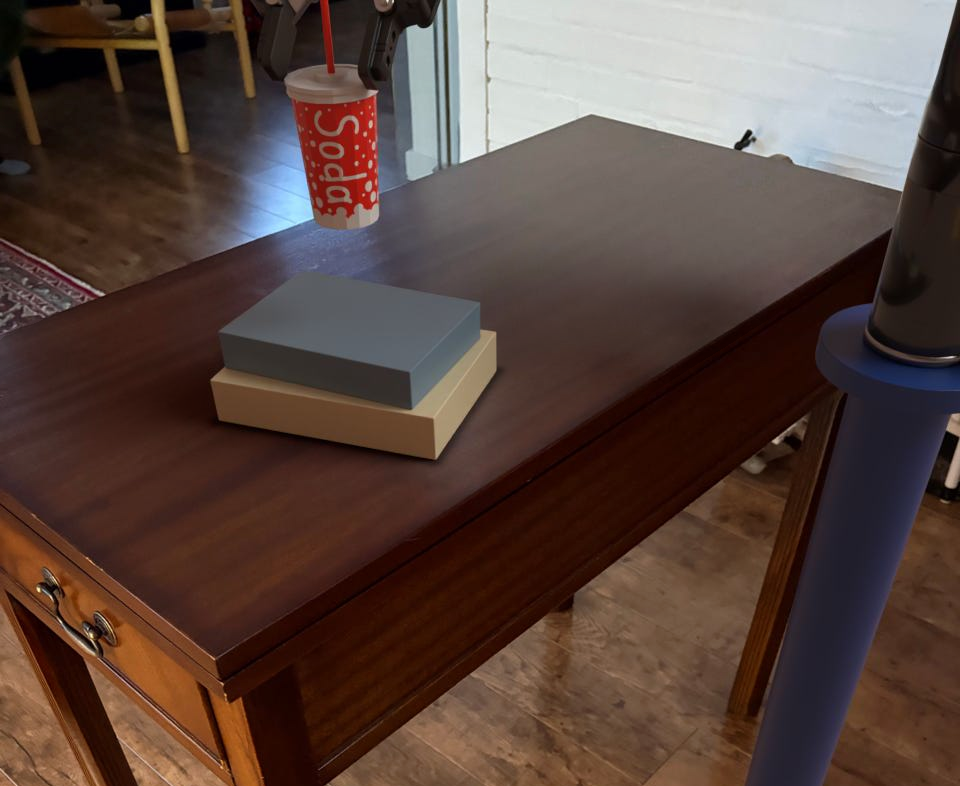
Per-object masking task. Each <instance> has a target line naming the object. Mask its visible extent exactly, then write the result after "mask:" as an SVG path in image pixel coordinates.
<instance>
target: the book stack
mask: <svg viewBox="0 0 960 786" xmlns="http://www.w3.org/2000/svg"><path fill="white" fill-rule="evenodd" d="M217 333H218V339H219V343H220V348H221V354H222V359H223V364H224V367H222V369H221V370H220V371H218V372H217V373H216V374H215V375H214V376H213V377H212V378H210V380H209V381H210V385H211V390H212V394H213V400H214V404H215V407H216V408H215V409H216V415H217V418H218V421H220V422H224V423H231V424H237V425H242V426H246V427H254V428H258V429H262V430H263V429H264V430H268V431H269V430H270V431H274V432H280V433H286V434H291V435H297V436H302V437H307V438H313V439H319V440H324V441H329V442H335V443H341V444H346V445H351V446H357V447H361V448H369V449H374V450H377V451H378V450H379V451H385V452H389V453H395V454H401V455H406V456H412V457H417V458H422V459H427V460H433V461H436V460H437V459H438V458H439V456H440V455H441V453H442V452H443V450H444V449H445V447H446V446H447V444H448V442H450V440H451V439H452V437H453V435H454V434H455V433H456V431H457V430H458V428H459V427H460V425H462V422H463V421H464V419H465V418H466V417H467V415H468V414H469V412H470V411H471V409H472V408H473V406H474V405H475V403H476V402H477V400H478V399H479V397H480V396H481V394H482V393H483V392H484V390H485V388H486V387H487V386H488V385H489V383H490V381H491V380H492V378H494V375H495V374H496V372H497V332H496V331H493V330H487V329H481V302H479V301H476V300H475V301H474V300H469V299H465V298H464V299H463V298H459V297H452V296H448V295H442V294H437V293H431V292H426V291H420V290H414V289H411V288H409V289H408V288H405V287H404V288H403V287H398V286H392V285H388V284H382V283H377V282H371V281H366V280H361V279H355V278H350V277H344V276H338V275H334V274H333V275H332V274H328V273H323V272H317V271H312V270H306V269H302V270H300V271H298V272H297V273H296V274H294V275H293V276H292V277H291V278H289V279H288V280H286V281H285V282H284V283H283V284H281V285H280V286H279V287H277V288H275V289H274V290H273V291H271V292H270V293H269V294H267V295H266V296H265V297H263V298H262V299H261V300H259V301H258V302H256V303H255V304H254V305H252V306H251V307H249V308H248V309H247V310H245V311H244V312H242V313H241V314H240V315H238V316H237V317H236V318H234V319H233V320H232V321H230V322H229V323H228V324H226V325H225V326H223V327H222V328H221V329H219V330H218V332H217Z"/></svg>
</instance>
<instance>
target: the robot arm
mask: <svg viewBox="0 0 960 786" xmlns="http://www.w3.org/2000/svg"><path fill="white" fill-rule="evenodd" d="M441 1H442V0H373V3H374V7H375V13H369V14H368V18H367V23H366V27H365V31H364V37H363V39H362V44H361V49H360V54H359V57H358V58H359V59H358V61H357V65H358V76H359V78H360V79H361V81H362V83H363V84H364V86H365V88H366V89H367V90H376V91H378V92H379V91H380V88H381V85H382V82H384V83H385V82H387V80H388V79H389V77H390V76H391V73H392V69H393V65H394V62H395V61H394V60H395V55H396V52H397V48H398V43H399V39H400V36H401V35H402V34H403V33H404V32H405V30H406V29H407V28H411V27H414V26H417V27H418V28H420V29H422V30H423V29H428V28H429V27H430V26H432V25H433V23H434V21H435V19H436V15H437V12H438V10H439V7H440V4H441ZM250 2H251V3H252V5H253V6H254V8H255V9H256V10H257V12H258V14H259V15H260V16H261V17H263V20H262V26H261V30H260V35H259V38H258V43H257V47H256V54H257V59H258V60H259V62H260V63H261V67H262V69H263V71H264V72H265V73H266V75H268V77H269V78H270V80H271V81H272V82H279V83H285V82H284V79H285V77H286V76H287V75H288V71H289V67H290V63H291V58H292V53H293V49H294V45H295V42H296V36H297V31H298V29H297V27H296V24H297V23H298V21H299V20H300V19H301V17H303V15H304V14H305V12H306V10H307V9H308V7H309V6H310V5H311V4H312V3H313V4H317V3H318V2H320V0H250ZM891 229H892V230H891V233H890V237H889V241H888V245H887V248H886V252H885V256H884V260H883V264H882V268H881V271H880V274H879V279H878V283H877V286H876V289H875V293H874V298H873V301H872V303H873V305H872V309H871V311H870V314H869V318H868V321H867V323H866V327H865V331H864V334H863V339H864V342H865V344H866V345H867V346H868V348H869V349H871V350H872V351H873V352H874V353H876V354H878V355H879V356H881V357H883V358H885V359H888V360H890V361H893V362H896V363H899V364H903V365H908V366H913V367H920V368H946V367H953V366H957V365H960V0H956V3H955V6H954V10H953V14H952V17H951V22H950V25H949V29H948V32H947V35H946V40H945V43H944V47H943V50H942V54H941V57H940V62H939V66H938V70H937V73H936V76H935V79H934V82H933V85H932V87H931V90H930V92H929V95H928V97H927V99H926V102H925V105H924V109H923V113H922V115H921V121H920V124H919V128H918V131H917V134H916V138H915V143H914V147H913V150H912V154H911V158H910V161H909V165H908V171H907V173H906V177H905V181H904V184H903V188H902V192H901V196H900V200H899V204H898V207H897V211H896V214H895V218H894V223H893V226H892V228H891Z"/></svg>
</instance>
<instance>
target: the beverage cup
mask: <svg viewBox="0 0 960 786" xmlns="http://www.w3.org/2000/svg"><path fill="white" fill-rule="evenodd" d="M319 4H320V12H321V14H320V15H321V21H322V33H323V41H324V50H325V59H326V64H319V65H311V66H306V67H303V68H298V69H296V70H293V71H291V72H289V73H287V76H286V77H285V79H284V82H283V83H284V85H285V87H286V92H285V93H286V94H287V96H288V98H290V99H291V104H292V109H293V115H294V120H295V125H296V131H297V136H298V141H299V147H300V152H301V158H302V163H303V168H304V174H305V179H306V184H307V190H308V196H309V201H310V206H311V211H312V217H313V221H314V222H315V224H316V225H318V226H319V227H322V228H324V229H329V230H334V231H350V230H351V231H352V230H357V229H361V228H365V227H369V226H371V225H373V224H374V223H376V222H377V221H378V220H379V217H380V196H379V195H380V194H379V193H380V192H379V153H378V152H379V150H378V147H379V146H378V112H377V111H378V110H377V107H378V105H377V94H378V92H379V90H378V91H376V90H367V89H366V88H365V86H364V84H363V83H362V81H361V79H360V78H359V76H358V64H351V63H335V57H334V48H333V39H332V28H331V18H330V17H331V16H330V8H329V0H319Z"/></svg>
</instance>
